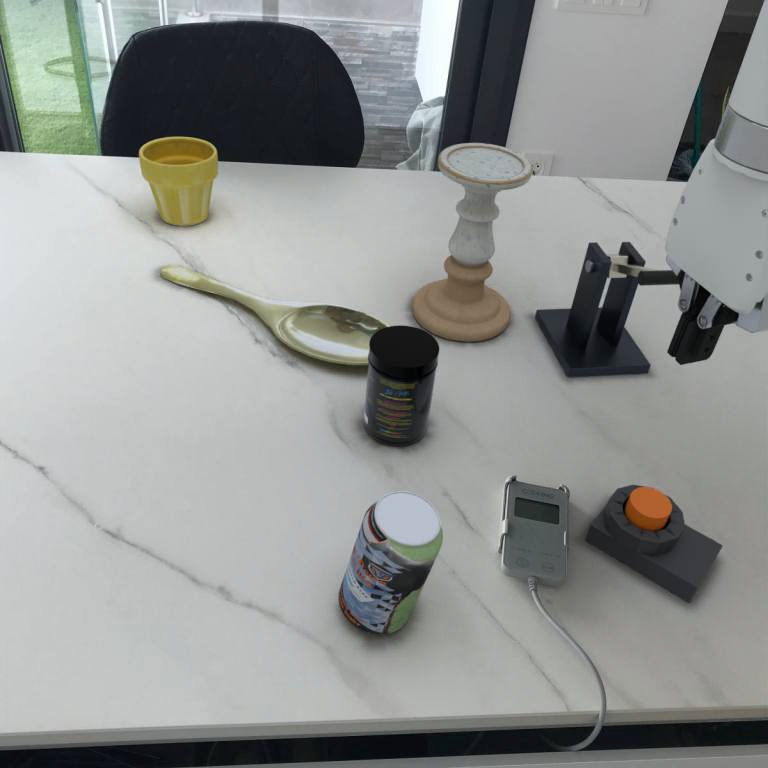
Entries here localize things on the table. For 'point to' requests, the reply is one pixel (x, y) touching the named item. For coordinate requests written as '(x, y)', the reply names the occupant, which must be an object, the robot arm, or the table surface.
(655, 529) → the power button
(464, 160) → the candle holder
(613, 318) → the black lever switch stand
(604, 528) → the button switch box
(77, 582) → the table surface
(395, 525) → the beverage can
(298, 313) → the spoon
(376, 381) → the supplement container
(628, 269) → the t-shaped lever handle
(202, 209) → the flower pot
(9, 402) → the table surface
